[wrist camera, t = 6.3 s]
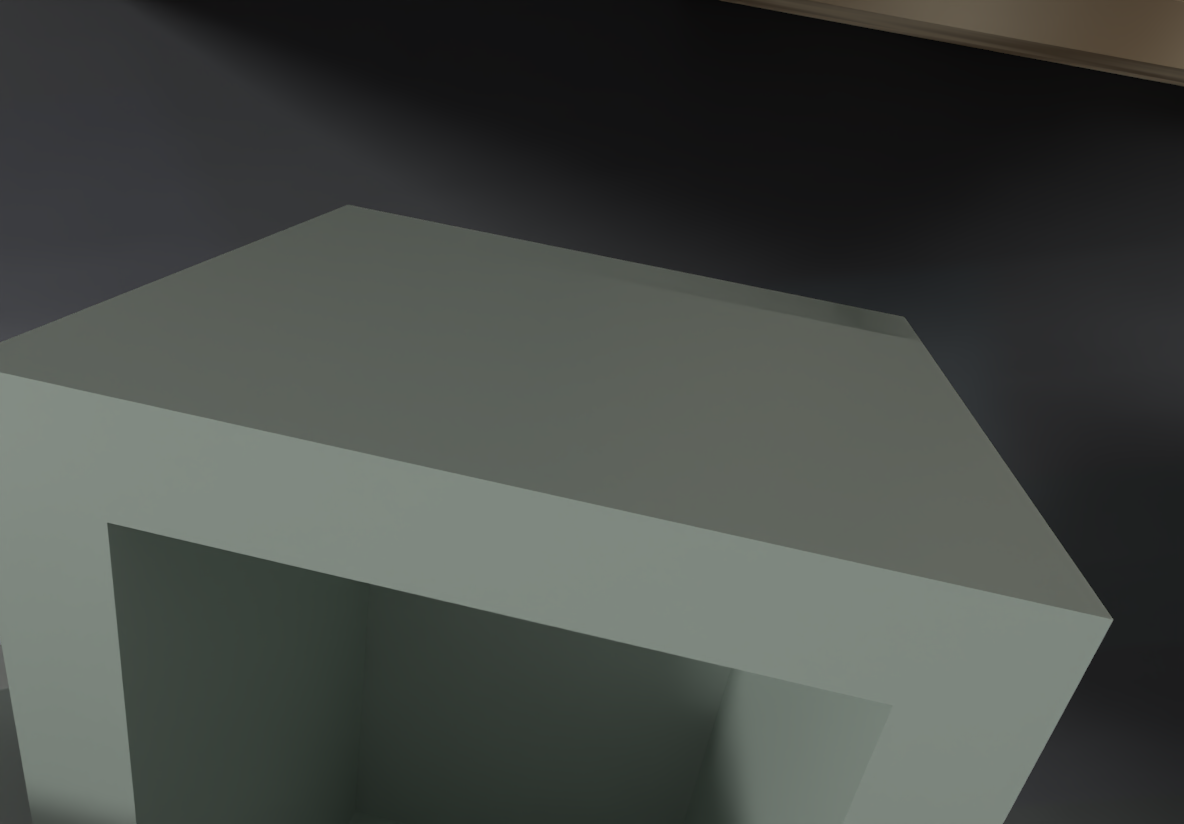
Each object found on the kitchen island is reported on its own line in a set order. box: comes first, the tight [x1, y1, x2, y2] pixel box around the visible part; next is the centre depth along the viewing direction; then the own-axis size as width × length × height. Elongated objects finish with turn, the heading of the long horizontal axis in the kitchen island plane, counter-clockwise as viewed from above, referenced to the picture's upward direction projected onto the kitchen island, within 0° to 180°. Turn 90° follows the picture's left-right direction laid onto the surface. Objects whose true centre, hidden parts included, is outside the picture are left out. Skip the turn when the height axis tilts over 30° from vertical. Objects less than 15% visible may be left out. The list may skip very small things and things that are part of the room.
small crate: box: [0, 205, 1113, 824], centre depth 8 cm, size 6×9×5 cm, turn 171°
